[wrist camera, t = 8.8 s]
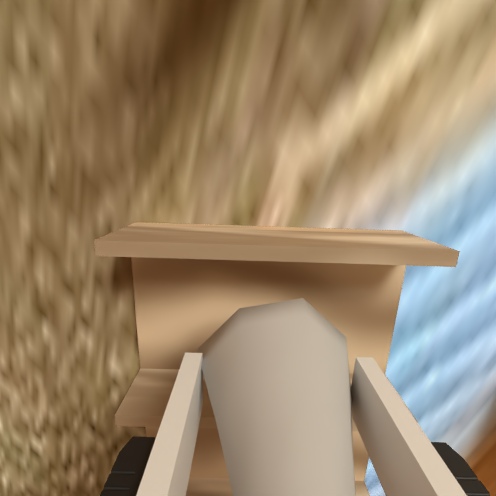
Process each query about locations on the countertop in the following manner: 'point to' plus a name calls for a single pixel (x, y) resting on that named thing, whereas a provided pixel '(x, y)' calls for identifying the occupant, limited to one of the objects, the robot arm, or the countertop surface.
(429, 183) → the countertop surface
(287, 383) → the flask
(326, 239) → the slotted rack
